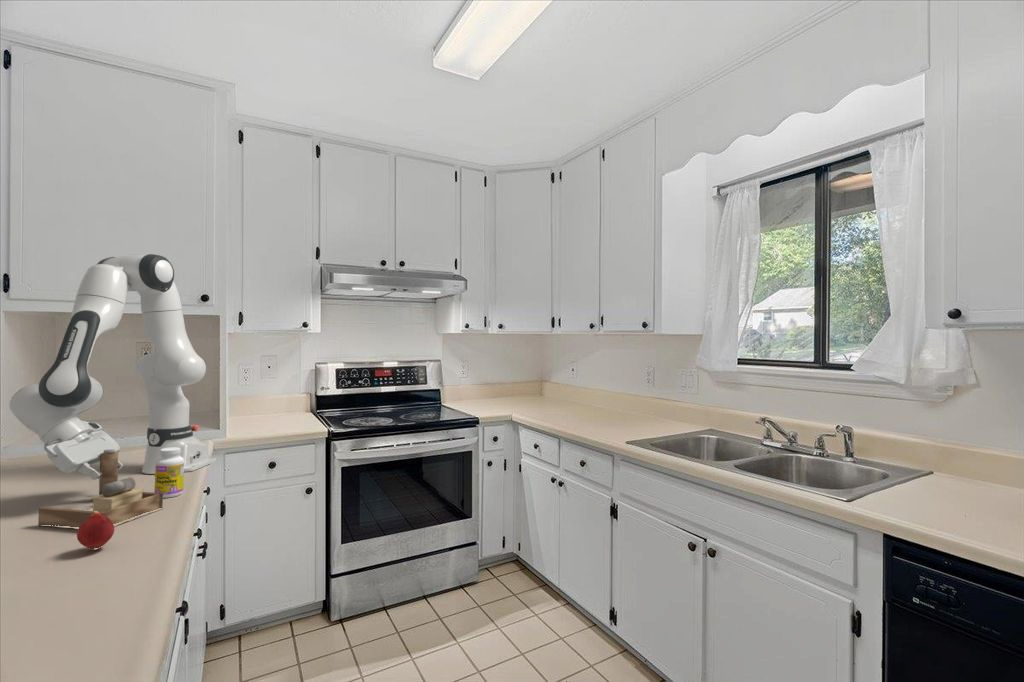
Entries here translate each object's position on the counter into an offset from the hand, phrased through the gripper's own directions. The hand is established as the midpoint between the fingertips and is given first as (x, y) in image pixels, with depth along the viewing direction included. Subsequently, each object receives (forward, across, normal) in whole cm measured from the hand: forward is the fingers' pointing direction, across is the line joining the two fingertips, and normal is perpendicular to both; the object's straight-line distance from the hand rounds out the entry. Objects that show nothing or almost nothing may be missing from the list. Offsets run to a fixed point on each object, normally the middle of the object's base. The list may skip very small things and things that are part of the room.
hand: (109, 472), depth 135 cm
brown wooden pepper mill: (+5, 0, +5) cm, 7 cm away
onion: (+17, -36, -6) cm, 40 cm away
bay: (+10, -15, 0) cm, 18 cm away
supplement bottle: (+15, +3, -4) cm, 16 cm away
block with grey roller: (+12, -16, -2) cm, 20 cm away
